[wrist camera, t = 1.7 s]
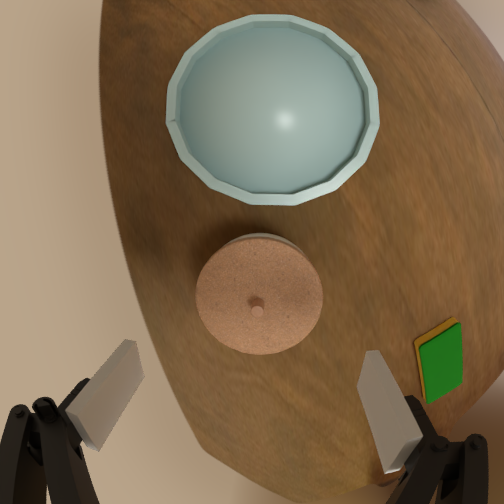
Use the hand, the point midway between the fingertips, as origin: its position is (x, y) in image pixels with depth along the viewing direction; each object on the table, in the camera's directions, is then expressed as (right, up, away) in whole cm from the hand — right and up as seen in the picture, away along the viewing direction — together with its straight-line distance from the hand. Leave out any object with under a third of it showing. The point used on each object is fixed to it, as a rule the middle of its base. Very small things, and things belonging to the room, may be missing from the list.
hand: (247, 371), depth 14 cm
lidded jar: (+1, +4, +16) cm, 17 cm away
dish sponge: (+28, -10, +18) cm, 35 cm away
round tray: (+2, +22, +11) cm, 24 cm away
